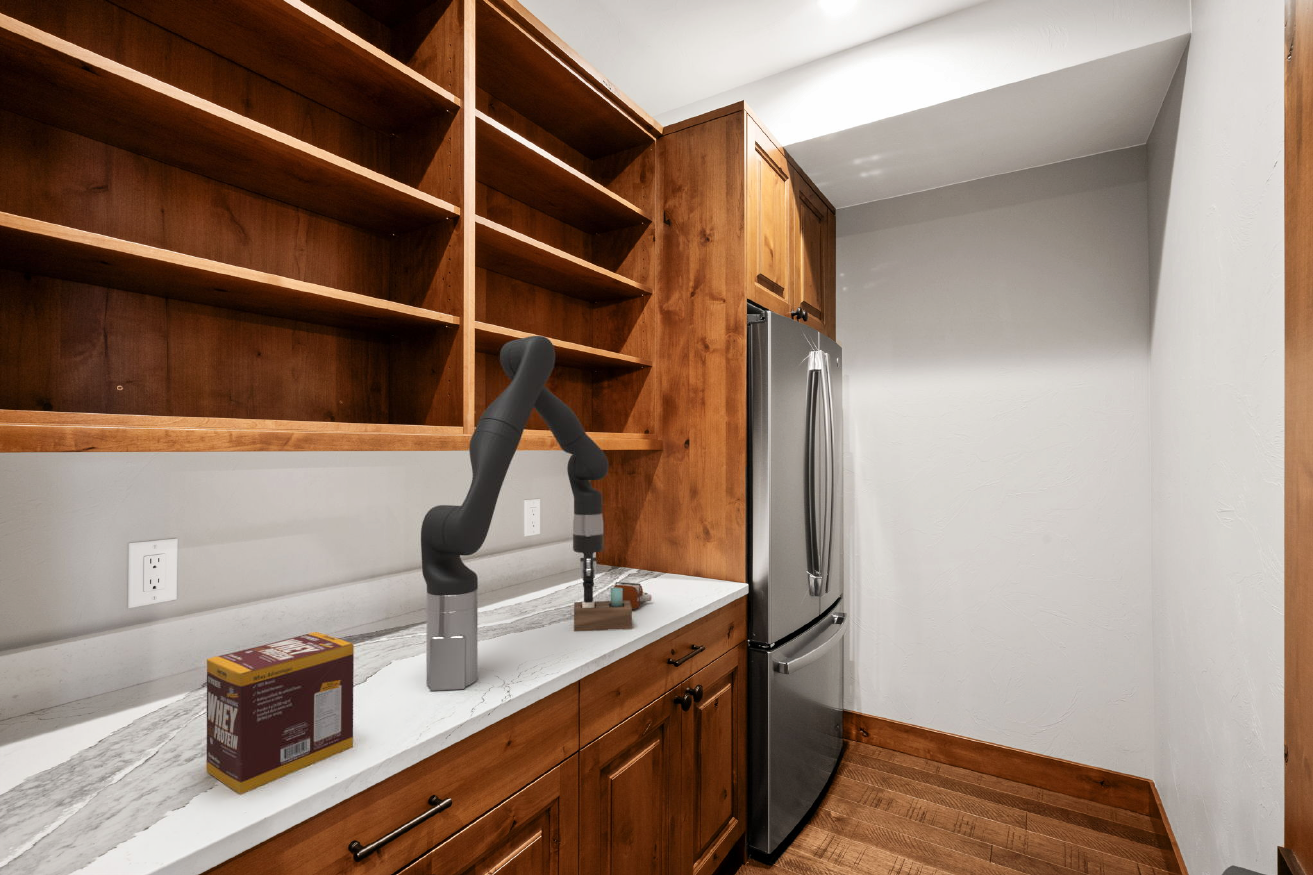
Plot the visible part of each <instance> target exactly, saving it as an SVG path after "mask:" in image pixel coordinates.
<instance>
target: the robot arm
mask: <svg viewBox="0 0 1313 875" xmlns="http://www.w3.org/2000/svg"><path fill="white" fill-rule="evenodd" d="M499 362H500V365H501V367H502V369H503V371H504V372H505V374H506V376H507V377H508V378H509V379H510V381H511V382H510V383H509V385H508V386H507V387H506V388H505V389H504V390H503V391H502V392H501V393H500V394H499V395H498V396H497V398H495V399H494V400H493V401H492V402H491V403H490V404H489V406H488V407H487V408H486V409H485V410H484V412H483V413H482V414H481V416H480V417H479V420H478V422H477V424H476V427H475V429H474V431H473V434H472V435H471V437H470V441H469V446H468V448H469V449H468V451H469V458H470V464H471V470H472V471H471V472H472V480H471V483H470V487H469V488H468V489H469V490H468V492H467V493H466V497H465V499H464V500H463V502H462V504H461V505H452V504H450V505H449V504H448V505H447V504H441V505H436V506H433V507H432V508H430V509H429V510H428V511H427V512H426V514H425V515H424V518H423V520H422V522H421V523H422V524H421V528H420V550H421V551H420V553H421V555H420V556H421V569H422V571H421V572H422V576H423V579H424V581H425V584H426V585H425V586H426V645H425V646H426V653H425V654H426V663H425V664H426V685H427V687H428V688H429V691H448V690H449V691H450V690H465V688H467V686H470V685H473V683H474V684H475V683H476V681H477V680H478V678H479V677H478V676H479V675H478V673H479V671H478V669H479V668H478V665H479V664H478V662H479V660H478V659H479V657H478V650H479V648H478V645H479V644H478V643H479V642H478V638H479V637H478V635H479V634H478V632H479V628H478V625H479V624H478V620H479V619H478V617H479V616H478V611H479V610H478V608H479V606H478V605H479V602H478V600H479V598H478V597H479V594H478V592H479V590H478V589H479V585H478V584H479V583H478V582H479V580H478V575H477V573H476V572H475V571H473V570H472V569H471V568H469V567H468V566H467V565H466V564H465V563H464V562H463V560H462V558H461V556H463V557H464V556H472V555H474V554H475V553H477V552H478V551H479V550H480V549H481V548H482V546H483V544H484V543H485V540H486V539H487V536H488V533H489V530H490V526H491V524H492V520H493V516H494V512H495V510H496V505H497V501H498V498H499V495H500V492H501V490H502V486H503V484H504V481H505V478H506V476H507V473H508V470H509V469H510V468H509V467H510V465H511V464H512V460H513V458H514V456H515V454H516V451H517V449H518V447H519V444H520V441H521V439H522V437H523V436H522V435H523V433H524V430H525V428H526V425H527V423H528V421H529V419H530V416H531V414H532V411H533V409H534V410H535V411H536V412H537V413H538V414H539V416H540V417H541V418H542V419H543V421H544V422H545V424H546V425H547V427H548V428H549V430H550V432H551V434H552V435H553V437H554V438H555V440H556V442H557V444H558V446H559V447H560V448H561V450H562V451H563V452H564V453H567V454H570V457H569V458H568V461H567V465H566V466H567V467H566V468H567V470H566V471H567V476H568V480H569V485H570V488H571V492H572V495H573V496H572V497H573V520H572V551H573V552H575V553H578V554H581V553H582V555H583V557H580V562H579V563H580V564H579V566H580V573H581V577H580V578H581V579H582V581H583V582H582V587H583V601H584V602H585V603H586V602H592V601H594V597H593V596H594V591H593V590H594V586H595V582H594V581H595V580H594V579H596V567H597V557H594V553H600V552H602V551H603V550H604V519H603V518H604V517H603V496H602V495H603V494H602V493H601V491H599V490H598V489H595V488H594V487H593V486H592V484H591V481H599V480H602V479H604V478H605V477H606V476H607V474H608V472H609V469H610V468H609V466H610V465H609V461H608V458H607V456H606V454H605V453H604V451H603V450H602V449H601V447H600V446H599V445H597V443H596V442H595V440H593V439H592V438H591V437H590V436H589V435H588V434H587V433H586V431H585V428H584V427H583V425H582V424H581V422H580V420H579V418H578V417H577V415H576V413H575V412H574V410H572V408H570V407H569V406H568V405H567V404H566V403H564V402H563V401H562V400H561V399H560V398H558V397H557V396H556V395H555V394H554V393H552V392H551V391H550V390H549V389H548V388H547V387H546V383H547V381H548V379H549V378H550V375H552V374H551V373H552V372H553V369H554V366H555V363H556V351H555V346H554V344H553V342H552V341H551V340H550V339H549V338H547V337H546V336H543V335H531V336H526V337H523V338H518V339H514V340H511V341H507V342H506V343H505V344H504V345H503V346H502V347H501V350H500V353H499Z"/></svg>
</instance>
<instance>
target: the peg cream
mask: <svg viewBox="0 0 1313 875" xmlns="http://www.w3.org/2000/svg"><path fill="white" fill-rule="evenodd" d="M581 602H582V608H594V602H595V601H594V600H593V601H592V602H586V603H585V602H584V600H583V601H581Z"/></svg>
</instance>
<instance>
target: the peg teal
mask: <svg viewBox="0 0 1313 875" xmlns="http://www.w3.org/2000/svg"><path fill="white" fill-rule="evenodd" d="M610 601H611V607H623V589H622V588H619V587H615V588H614V587H611V588H610Z"/></svg>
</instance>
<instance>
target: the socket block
mask: <svg viewBox="0 0 1313 875" xmlns="http://www.w3.org/2000/svg"><path fill="white" fill-rule="evenodd" d="M582 602H583V601H576V602H575V601H574V602H573V605H574V606H573V632H591V631H592V632H593V631H594V632H595V630H596V631H609V630H608V629H623V630H632V628H633V618H632V617H633V609H632V608H631V604H630V601H629V600H628V601H623V607H611V600H607V601H606V600H603V601H594V608H582Z"/></svg>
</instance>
